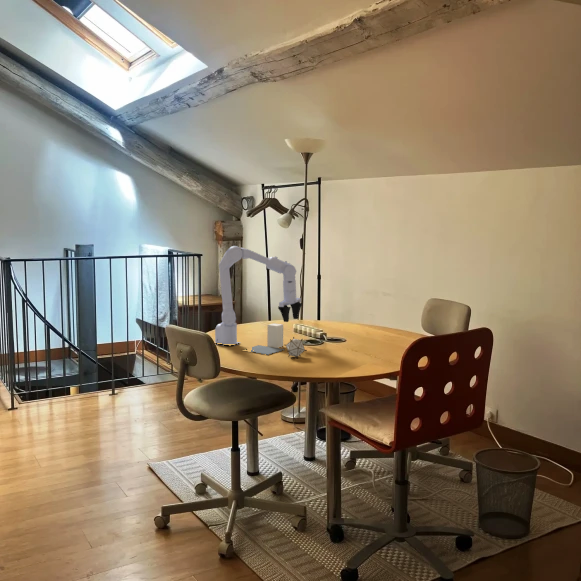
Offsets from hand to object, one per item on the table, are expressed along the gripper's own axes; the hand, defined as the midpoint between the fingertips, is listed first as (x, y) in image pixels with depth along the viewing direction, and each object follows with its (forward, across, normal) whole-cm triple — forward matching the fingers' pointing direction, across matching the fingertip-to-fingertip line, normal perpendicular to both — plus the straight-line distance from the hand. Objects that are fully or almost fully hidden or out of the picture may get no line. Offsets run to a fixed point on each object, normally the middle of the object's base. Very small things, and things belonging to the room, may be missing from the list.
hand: (290, 320), depth 278 cm
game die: (+11, -22, -16) cm, 29 cm away
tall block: (+10, -11, +2) cm, 15 cm away
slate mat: (+10, -20, +1) cm, 22 cm away
